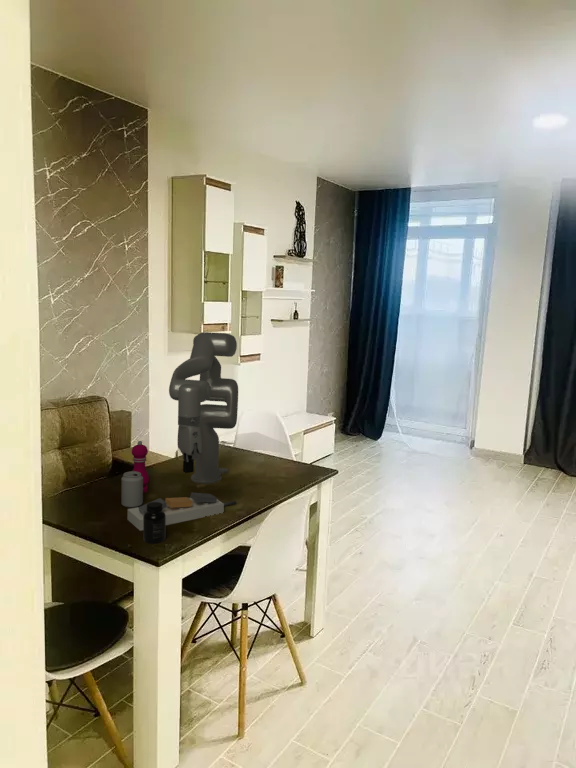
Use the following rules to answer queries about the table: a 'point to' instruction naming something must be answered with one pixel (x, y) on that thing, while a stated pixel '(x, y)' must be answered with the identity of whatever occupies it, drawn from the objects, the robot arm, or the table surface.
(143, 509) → the block
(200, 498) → the block
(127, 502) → the can
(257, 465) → the table surface
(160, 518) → the supplement bottle
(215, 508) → the power strip
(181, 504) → the rocker
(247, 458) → the table surface
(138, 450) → the pepper mill
